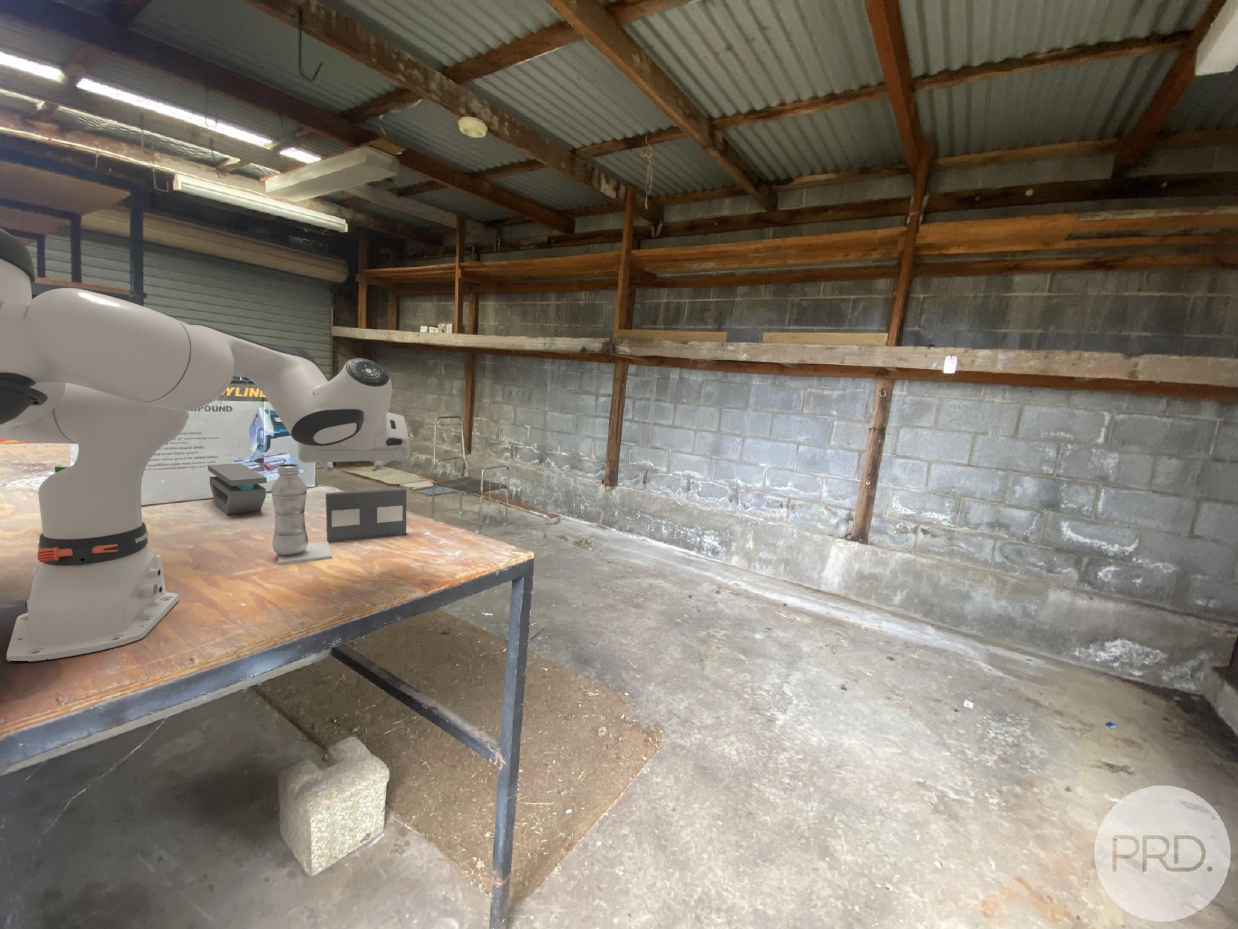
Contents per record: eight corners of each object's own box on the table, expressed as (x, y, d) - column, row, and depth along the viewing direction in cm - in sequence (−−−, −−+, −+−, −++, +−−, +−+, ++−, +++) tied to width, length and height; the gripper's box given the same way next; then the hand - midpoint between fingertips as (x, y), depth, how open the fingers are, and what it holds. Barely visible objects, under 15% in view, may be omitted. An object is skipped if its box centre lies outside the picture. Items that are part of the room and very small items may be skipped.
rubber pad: (332, 558, 112) (332, 555, 112) (278, 564, 106) (278, 562, 106) (327, 543, 121) (327, 541, 121) (277, 548, 115) (277, 546, 115)
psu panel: (406, 534, 131) (406, 490, 129) (327, 543, 121) (326, 495, 119) (404, 532, 133) (404, 488, 131) (326, 540, 123) (325, 492, 121)
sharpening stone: (210, 501, 148) (207, 465, 147) (242, 497, 154) (240, 463, 153) (233, 520, 133) (231, 480, 131) (268, 515, 139) (266, 477, 137)
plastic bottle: (275, 549, 113) (272, 462, 110) (310, 547, 116) (308, 462, 112) (269, 559, 107) (265, 468, 104) (306, 557, 110) (304, 467, 107)
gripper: (297, 440, 90) (296, 482, 99) (416, 440, 102) (406, 477, 111) (295, 413, 93) (295, 457, 102) (411, 416, 104) (401, 454, 114)
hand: (353, 467), depth 107 cm, fingers open, 8 cm apart
